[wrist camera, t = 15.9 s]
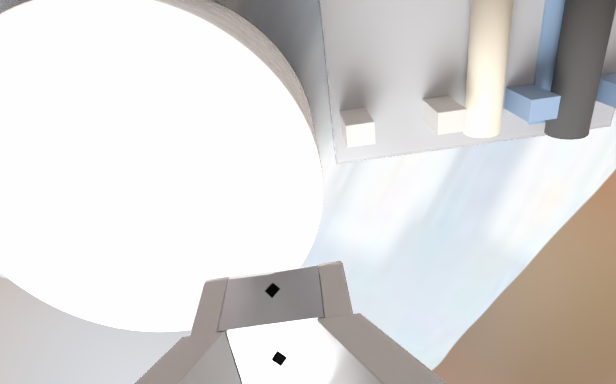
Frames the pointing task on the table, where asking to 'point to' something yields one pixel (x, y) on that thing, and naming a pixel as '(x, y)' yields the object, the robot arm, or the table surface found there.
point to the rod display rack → (437, 75)
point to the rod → (487, 66)
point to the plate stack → (148, 156)
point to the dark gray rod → (579, 65)
